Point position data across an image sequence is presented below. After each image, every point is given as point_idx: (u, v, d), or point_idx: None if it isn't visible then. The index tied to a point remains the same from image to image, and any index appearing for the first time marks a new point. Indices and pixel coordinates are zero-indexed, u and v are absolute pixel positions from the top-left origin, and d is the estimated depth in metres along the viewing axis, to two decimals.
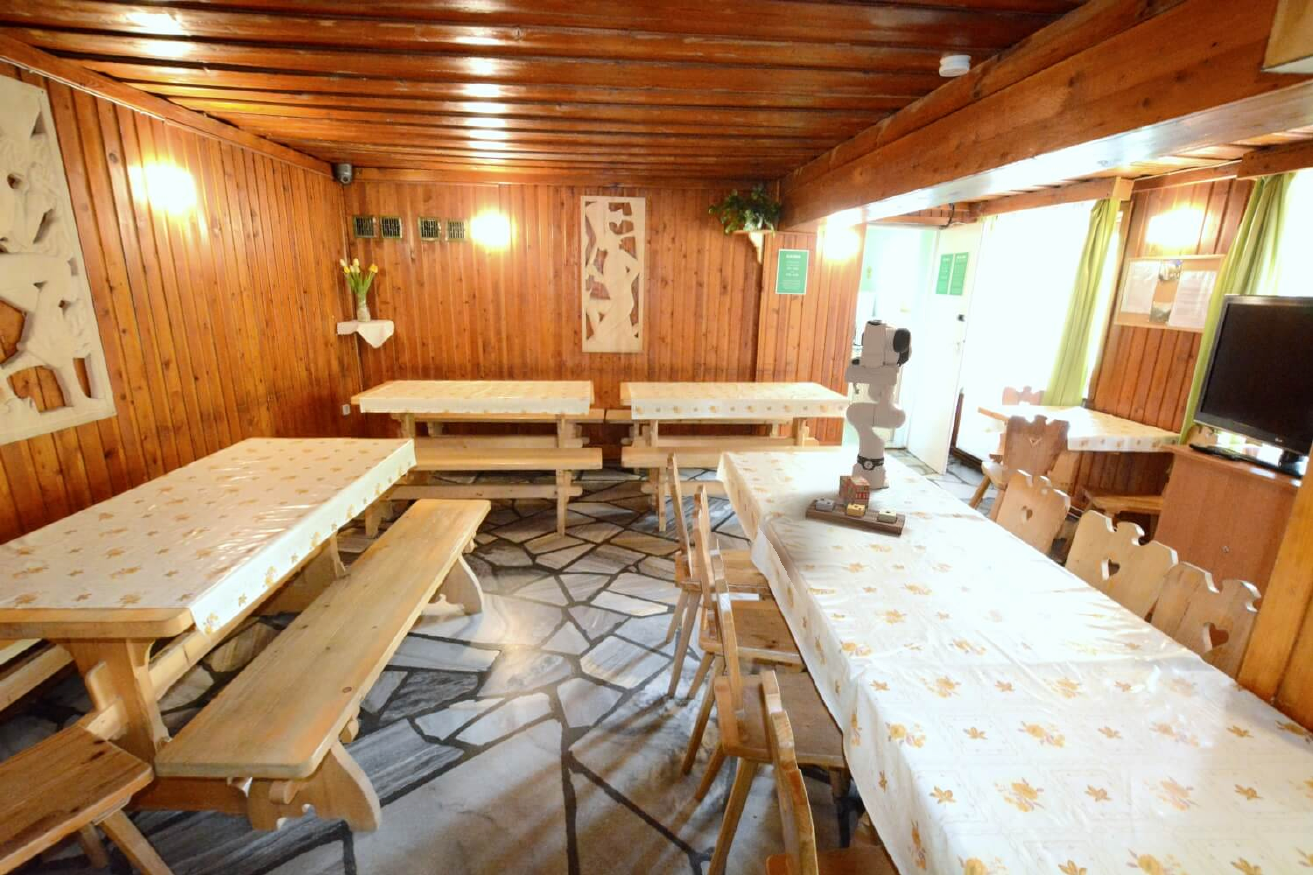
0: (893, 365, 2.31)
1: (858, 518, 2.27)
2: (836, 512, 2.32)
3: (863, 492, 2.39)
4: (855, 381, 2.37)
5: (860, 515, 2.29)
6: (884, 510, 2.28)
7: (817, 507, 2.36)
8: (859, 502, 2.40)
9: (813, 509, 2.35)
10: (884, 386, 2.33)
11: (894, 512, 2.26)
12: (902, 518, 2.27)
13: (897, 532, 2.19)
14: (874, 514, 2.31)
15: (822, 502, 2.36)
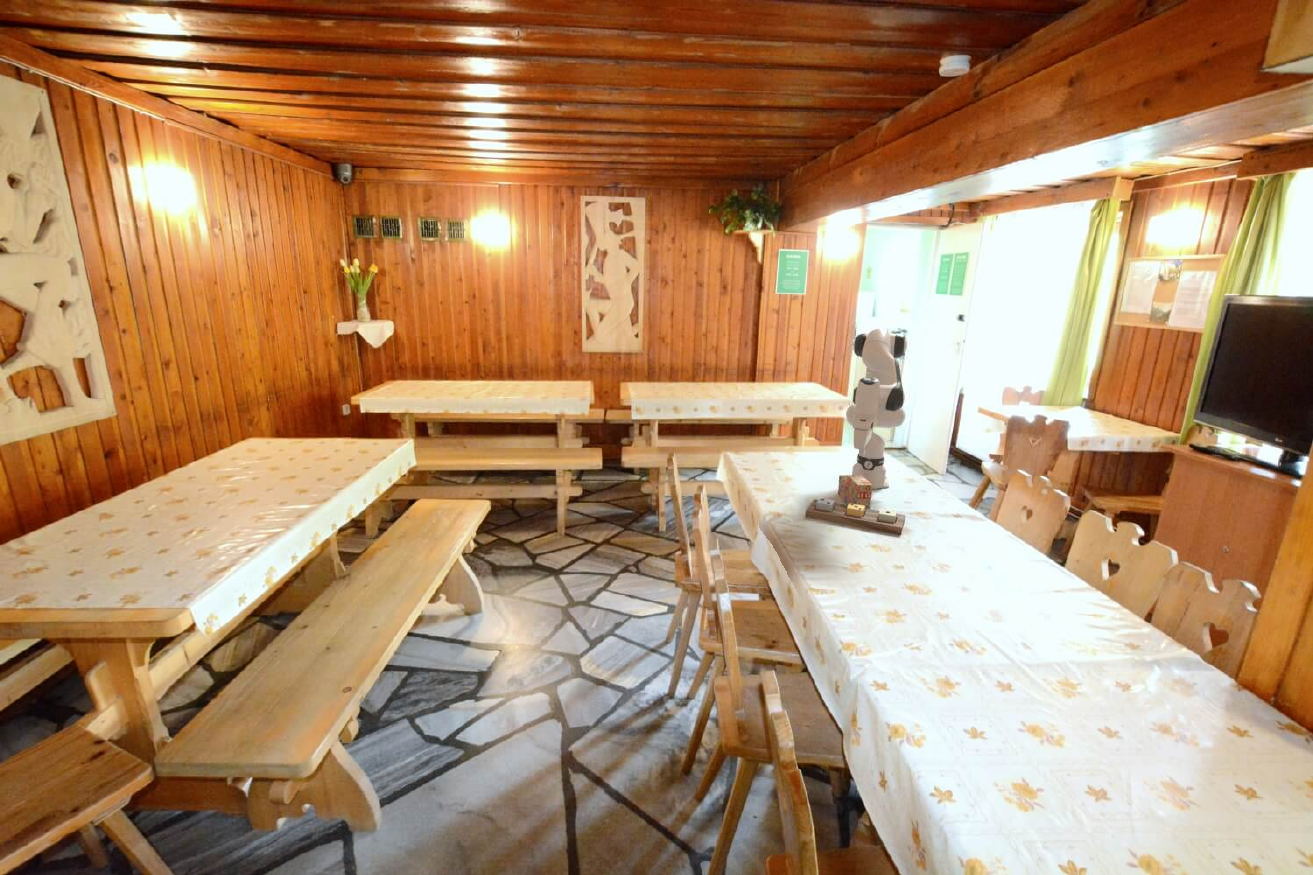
0: None
1: (858, 518, 2.27)
2: (836, 512, 2.32)
3: (865, 491, 2.39)
4: (865, 445, 2.20)
5: (860, 515, 2.29)
6: (884, 510, 2.28)
7: (817, 507, 2.36)
8: (861, 501, 2.40)
9: (813, 509, 2.35)
10: None
11: (894, 512, 2.26)
12: (902, 518, 2.27)
13: (897, 532, 2.19)
14: (874, 514, 2.31)
15: (822, 502, 2.36)
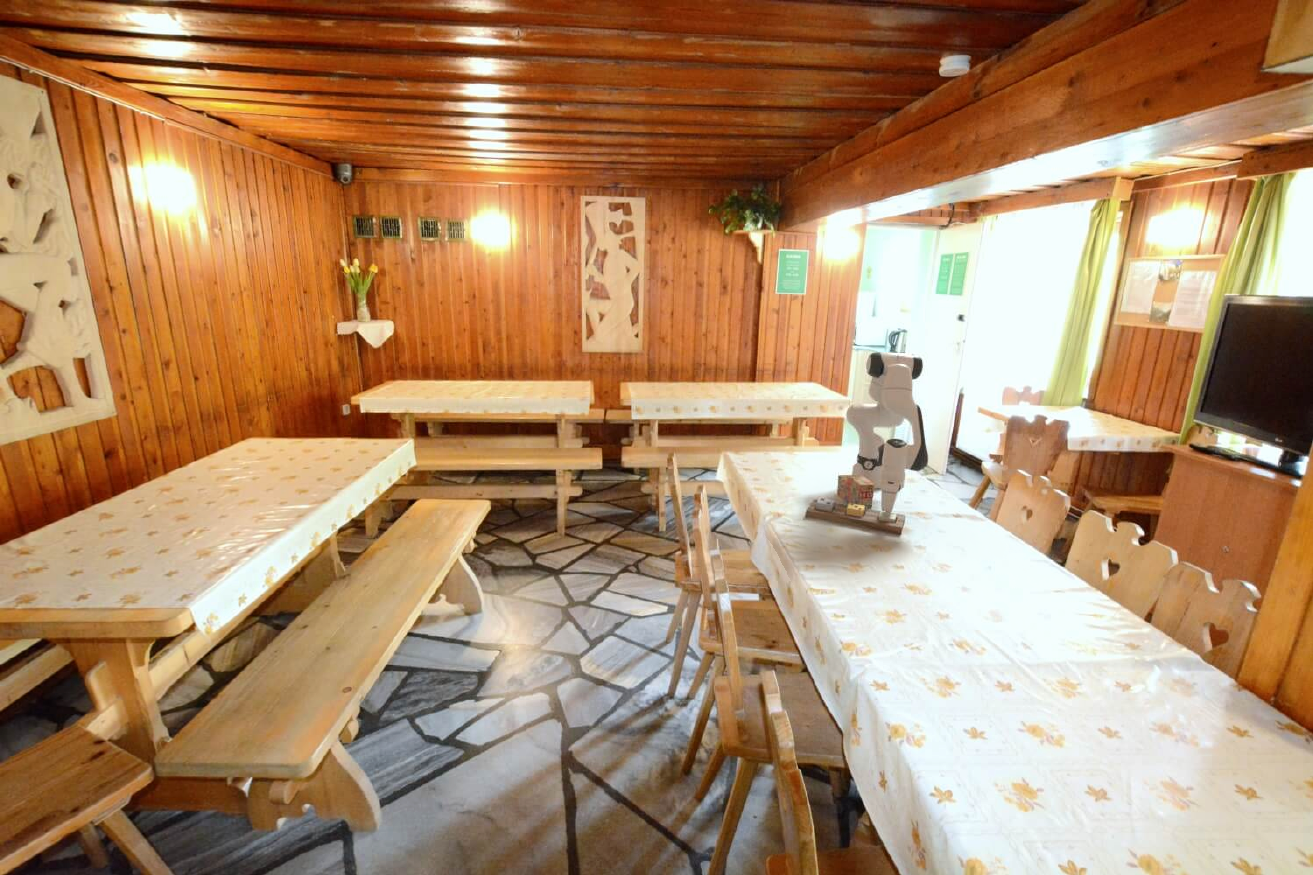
0: None
1: (858, 518, 2.27)
2: (836, 512, 2.32)
3: (867, 491, 2.40)
4: None
5: (860, 515, 2.29)
6: (884, 513, 2.29)
7: (817, 507, 2.36)
8: (863, 501, 2.41)
9: (813, 509, 2.35)
10: None
11: (893, 515, 2.27)
12: (902, 518, 2.27)
13: (897, 532, 2.19)
14: (874, 514, 2.31)
15: (822, 502, 2.36)
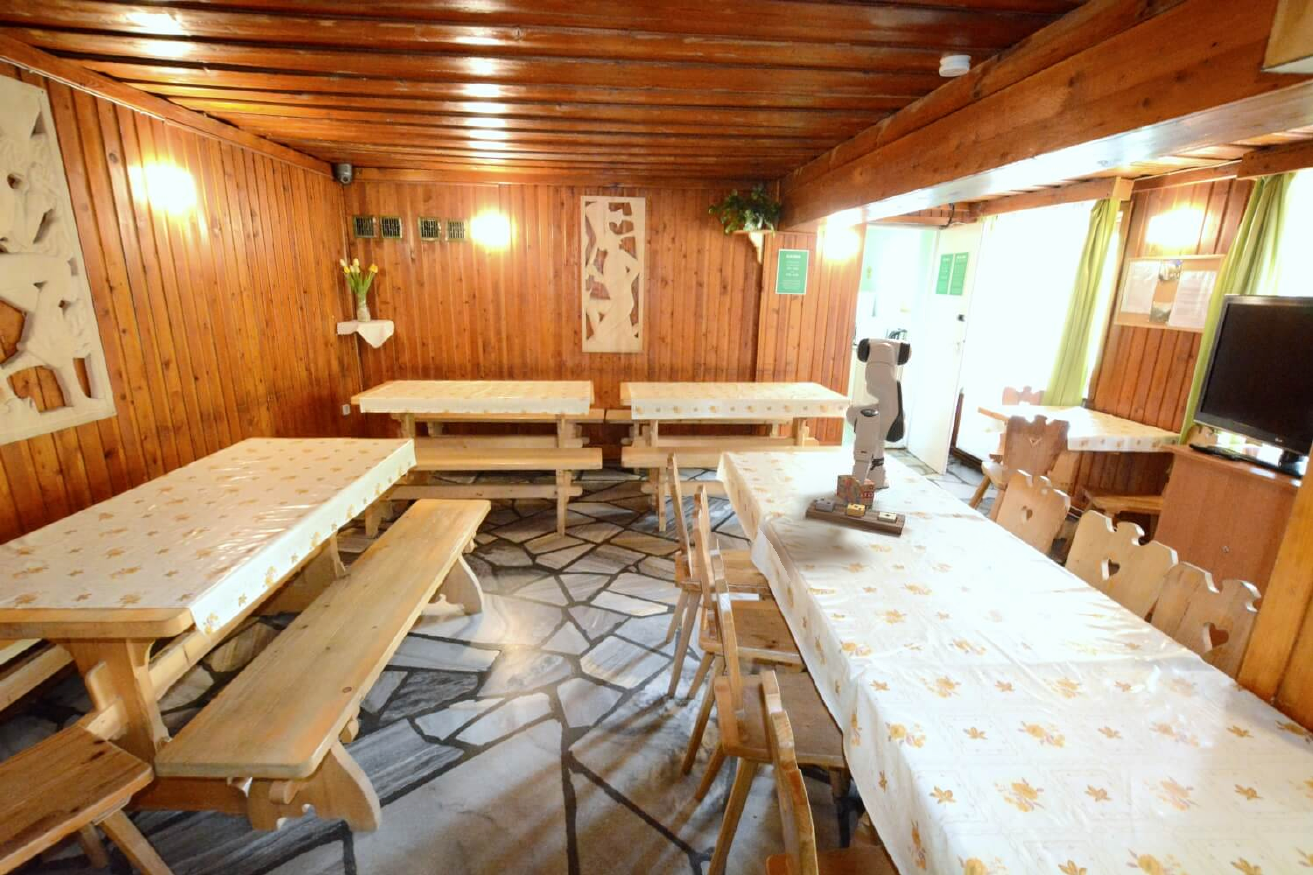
0: None
1: (858, 518, 2.27)
2: (836, 512, 2.32)
3: (868, 491, 2.40)
4: (866, 476, 2.22)
5: (860, 515, 2.29)
6: (884, 513, 2.29)
7: (817, 507, 2.36)
8: (864, 501, 2.41)
9: (813, 509, 2.35)
10: None
11: (893, 515, 2.27)
12: (902, 518, 2.27)
13: (897, 532, 2.19)
14: (874, 514, 2.31)
15: (822, 502, 2.36)
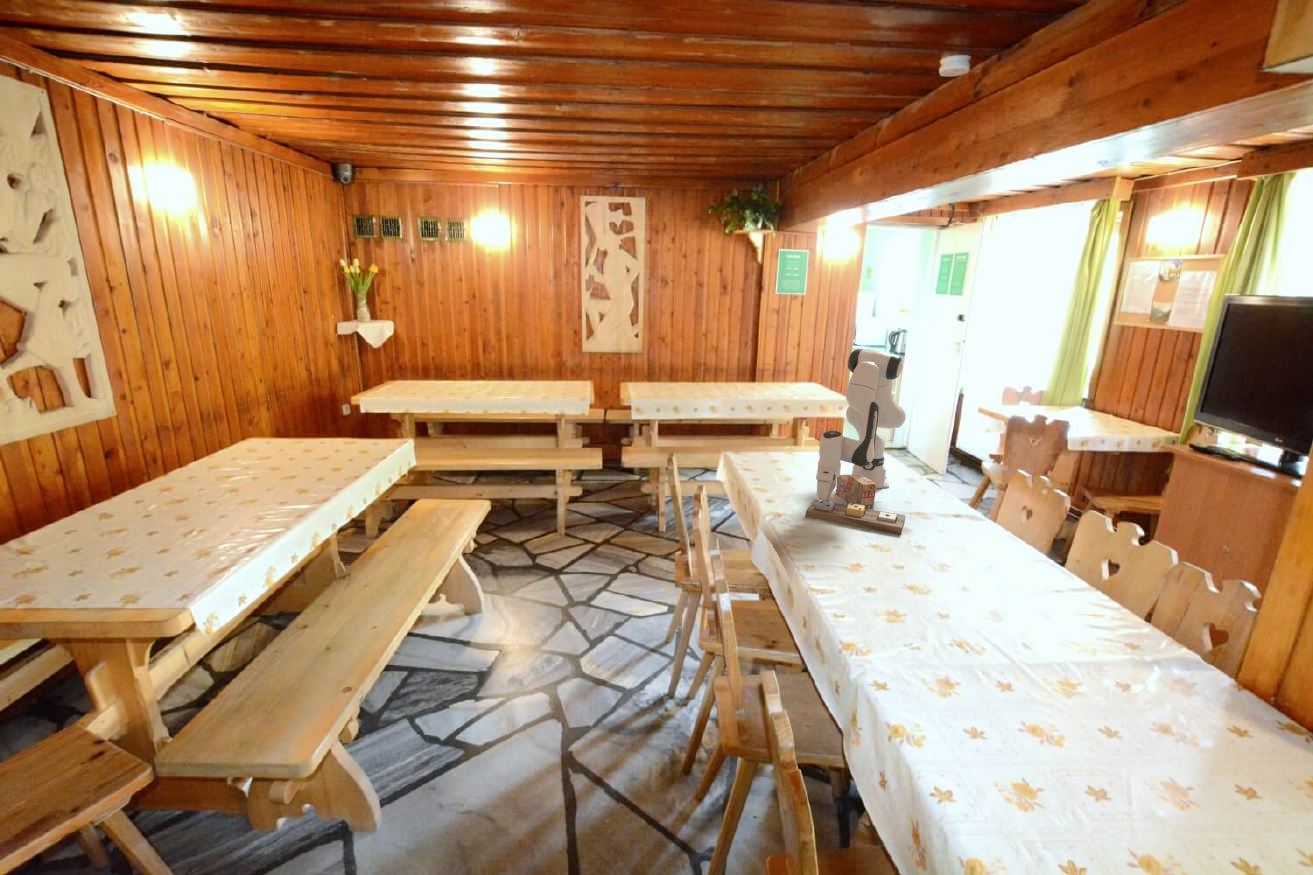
0: None
1: (858, 518, 2.27)
2: (836, 512, 2.32)
3: (869, 491, 2.40)
4: (828, 496, 2.30)
5: (860, 515, 2.29)
6: (884, 513, 2.29)
7: None
8: (865, 500, 2.41)
9: (813, 509, 2.35)
10: (830, 493, 2.37)
11: (893, 515, 2.27)
12: (902, 518, 2.27)
13: (897, 532, 2.19)
14: (874, 514, 2.31)
15: (822, 504, 2.36)
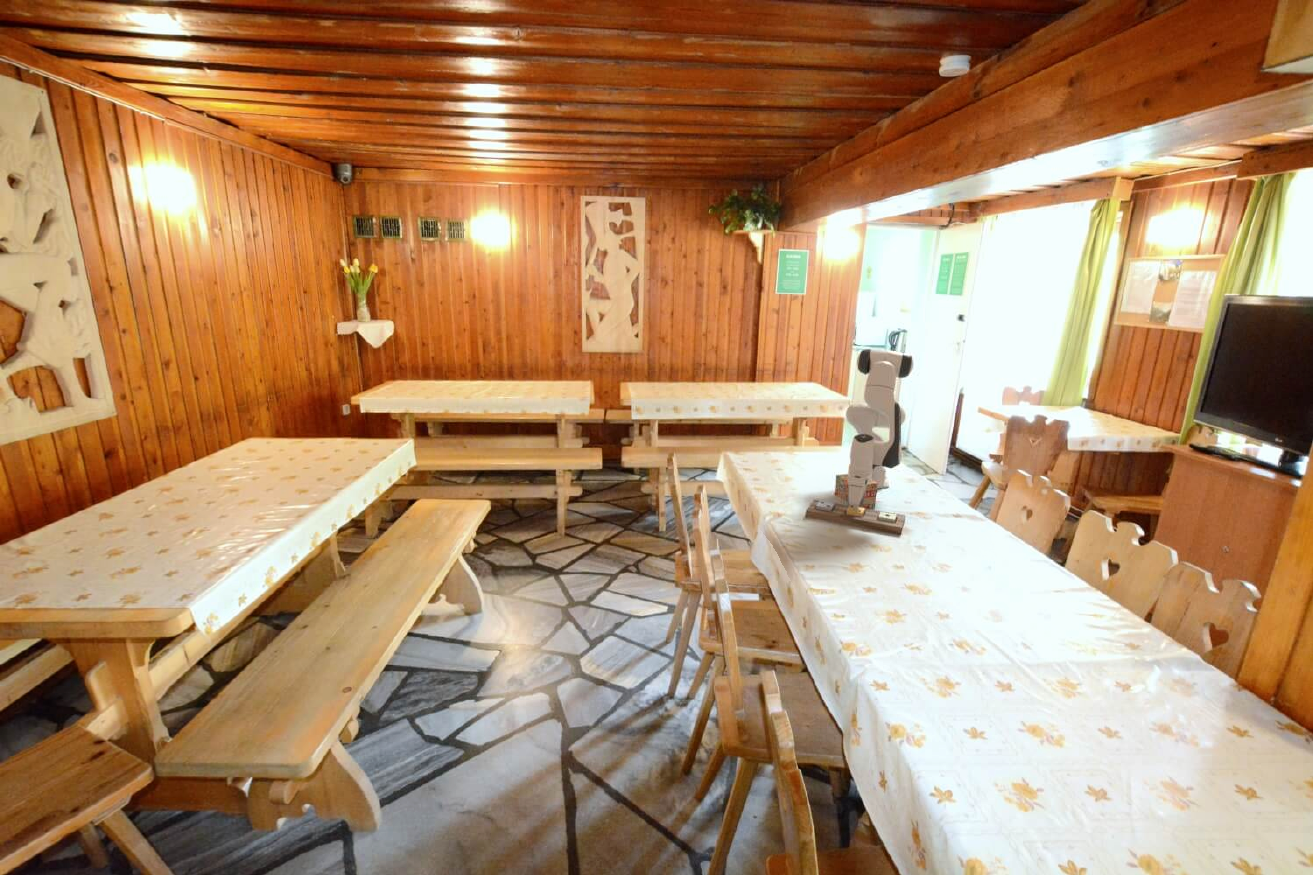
0: None
1: (858, 518, 2.27)
2: (836, 512, 2.32)
3: (871, 490, 2.41)
4: None
5: None
6: (884, 513, 2.29)
7: None
8: (867, 500, 2.42)
9: (813, 509, 2.35)
10: None
11: (893, 515, 2.27)
12: (902, 518, 2.27)
13: (897, 532, 2.19)
14: (874, 514, 2.31)
15: (822, 505, 2.36)
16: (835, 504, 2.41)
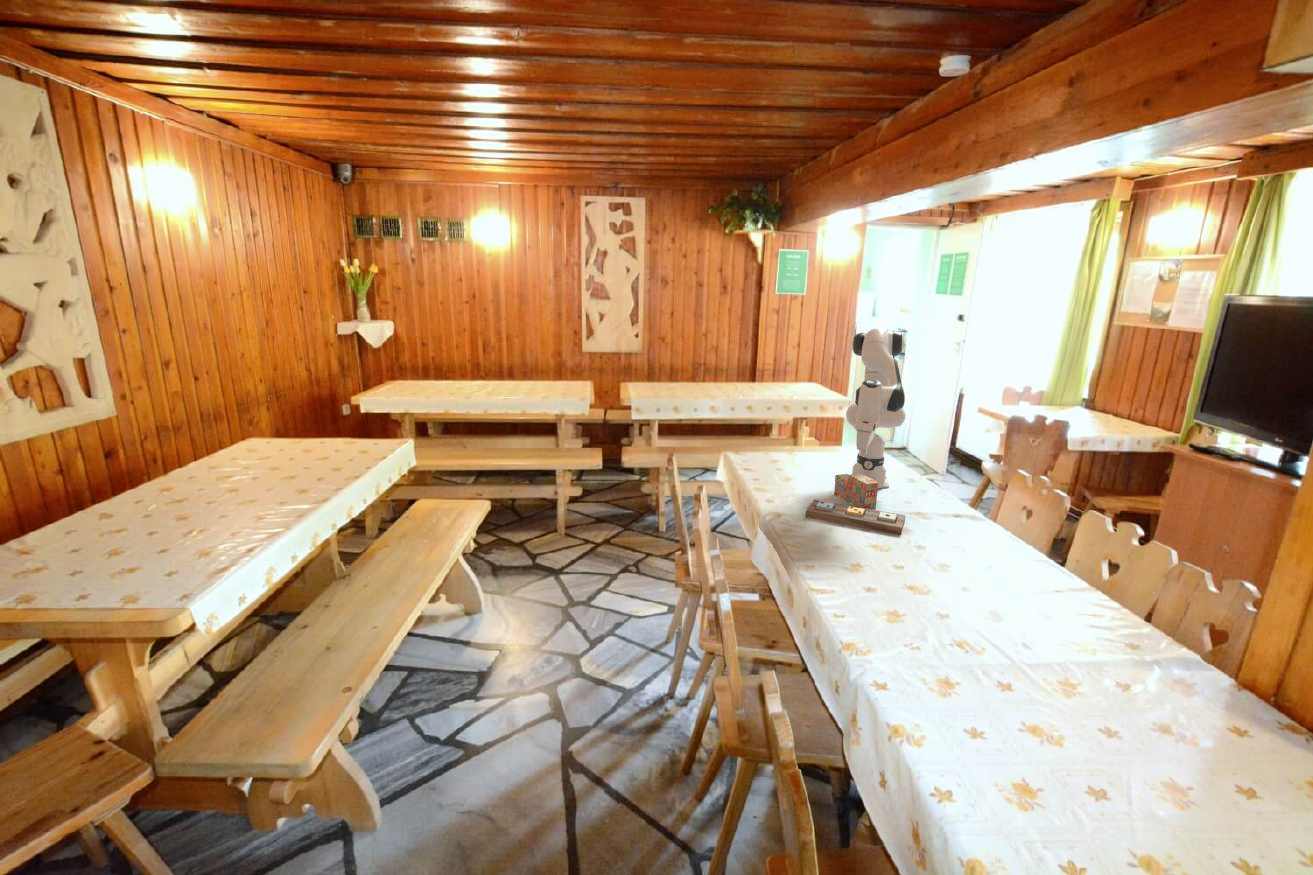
0: None
1: (858, 518, 2.27)
2: (836, 512, 2.32)
3: (872, 490, 2.41)
4: (868, 446, 2.26)
5: None
6: (884, 513, 2.29)
7: None
8: (868, 500, 2.42)
9: (813, 509, 2.35)
10: None
11: (893, 515, 2.27)
12: (902, 518, 2.27)
13: (897, 532, 2.19)
14: (874, 514, 2.31)
15: (822, 505, 2.36)
16: (835, 504, 2.41)
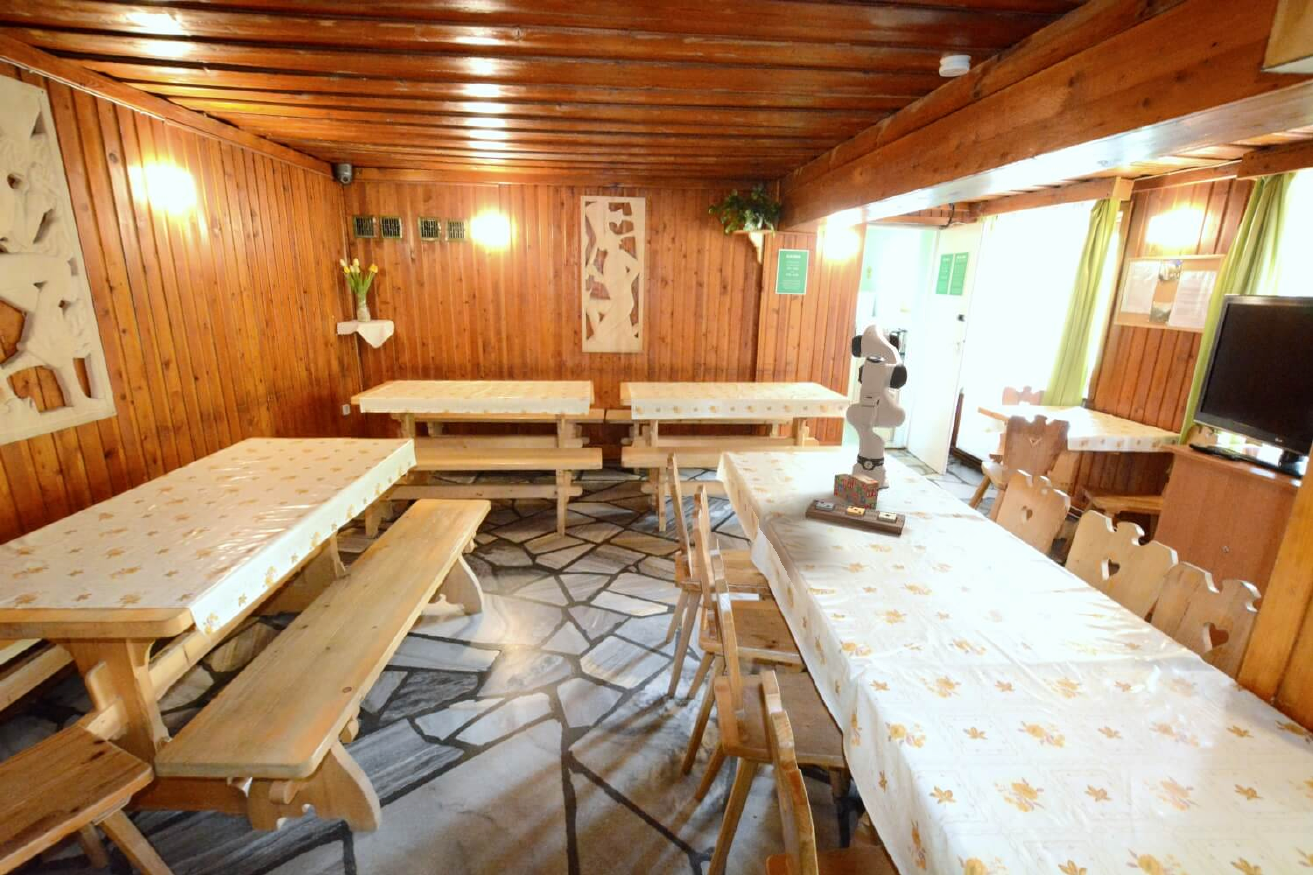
0: None
1: (858, 518, 2.27)
2: (836, 512, 2.32)
3: (873, 489, 2.42)
4: (871, 421, 2.27)
5: None
6: (884, 513, 2.29)
7: None
8: (869, 499, 2.43)
9: (813, 509, 2.35)
10: None
11: (893, 515, 2.27)
12: (902, 518, 2.27)
13: (897, 532, 2.19)
14: (874, 514, 2.31)
15: (822, 505, 2.36)
16: (835, 504, 2.41)
